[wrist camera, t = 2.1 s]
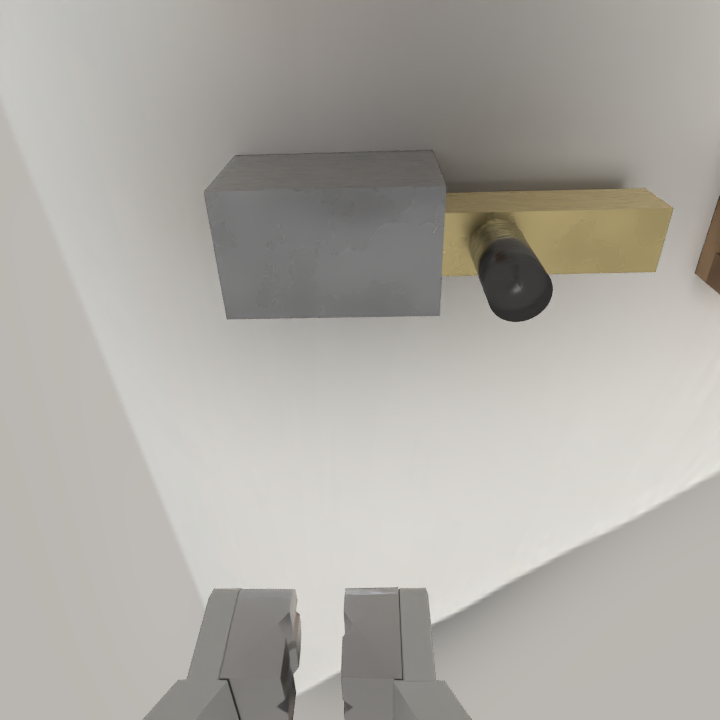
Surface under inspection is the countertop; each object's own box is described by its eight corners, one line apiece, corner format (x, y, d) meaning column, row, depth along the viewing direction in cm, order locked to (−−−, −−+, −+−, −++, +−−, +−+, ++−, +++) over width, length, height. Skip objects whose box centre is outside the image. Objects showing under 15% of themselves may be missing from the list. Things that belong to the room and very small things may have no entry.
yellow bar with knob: (230, 197, 27) (184, 263, 21) (645, 188, 27) (736, 252, 20) (239, 255, 29) (199, 333, 22) (630, 247, 28) (710, 325, 22)
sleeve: (235, 155, 28) (203, 191, 23) (432, 150, 28) (446, 186, 23) (251, 265, 32) (226, 319, 26) (428, 261, 31) (439, 315, 26)
